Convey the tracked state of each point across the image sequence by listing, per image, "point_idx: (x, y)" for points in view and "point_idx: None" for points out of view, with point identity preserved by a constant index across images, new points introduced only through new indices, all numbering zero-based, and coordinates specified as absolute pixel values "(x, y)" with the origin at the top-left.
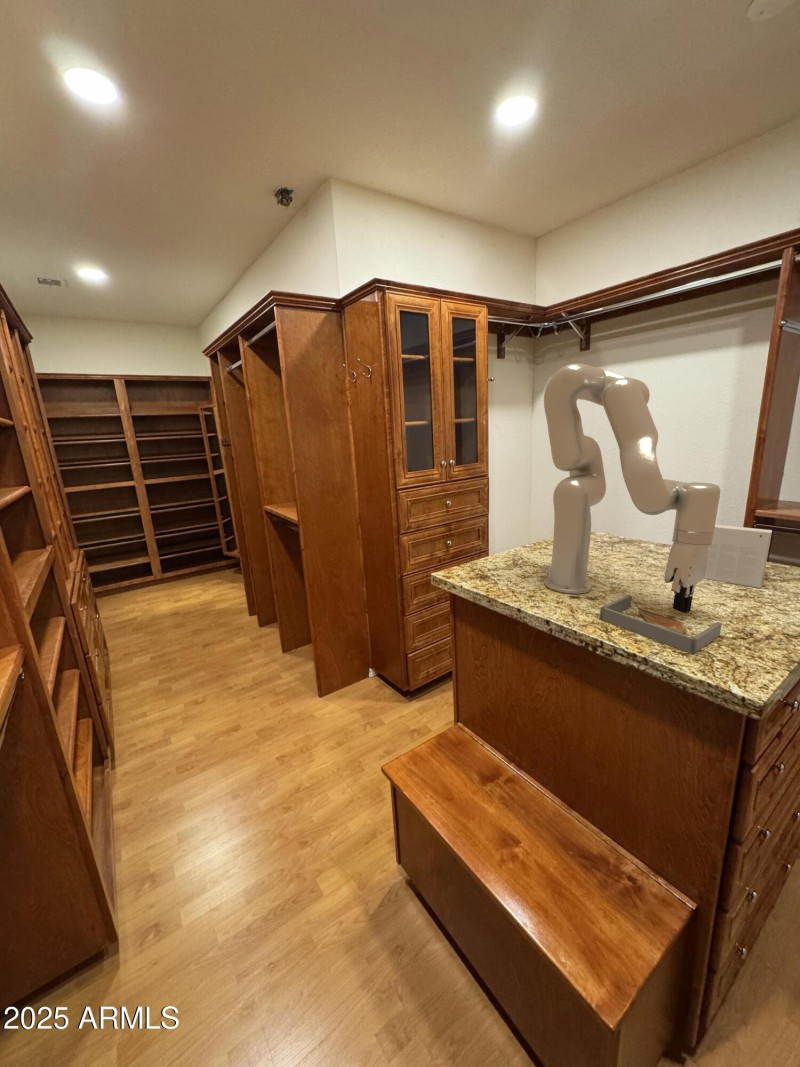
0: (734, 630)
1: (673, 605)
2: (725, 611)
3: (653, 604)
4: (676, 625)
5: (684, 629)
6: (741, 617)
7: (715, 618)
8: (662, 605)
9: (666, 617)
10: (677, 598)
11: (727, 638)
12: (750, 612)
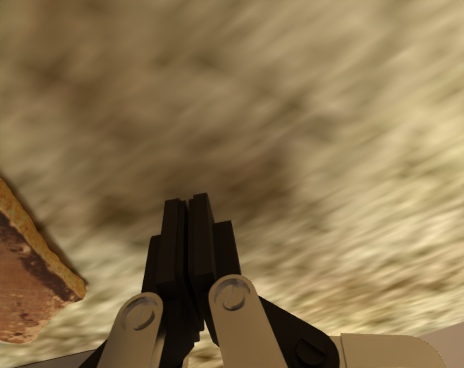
0: None
1: (163, 215)
2: (398, 246)
3: (166, 44)
4: (3, 323)
5: (17, 343)
6: (376, 287)
7: (288, 272)
8: (213, 88)
9: (25, 259)
10: (145, 289)
11: None
12: (452, 272)
